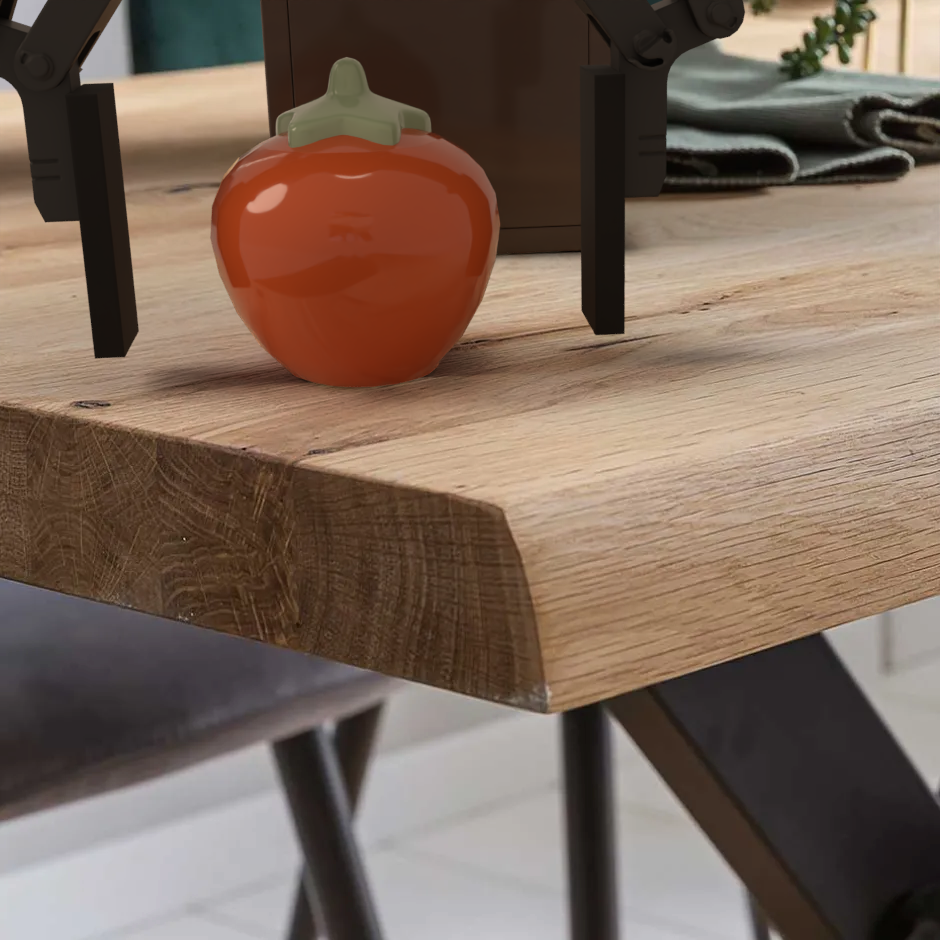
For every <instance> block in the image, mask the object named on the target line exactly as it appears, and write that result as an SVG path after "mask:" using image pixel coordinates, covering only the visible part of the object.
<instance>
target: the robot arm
mask: <svg viewBox="0 0 940 940" xmlns="http://www.w3.org/2000/svg"><path fill="white" fill-rule="evenodd" d="M122 1H123V0H46V2H45V3H44V5H43V6H42V9H41V10H40V11H39V13H38V15H37V16H36V19H35V20H34V22H33V23H32V25H27V24H25V23H21V22H18V21H15V20H13V17H14V14H15V11H16V7H17V4H18V0H0V78H1V79H3V80H5V82H7V83H9V85H11V86H12V87H13V88H14V89H15V91H16V92H17V94H18V96H19V98H20V101H21V106H22V112H23V113H22V114H23V121H24V128H25V136H26V143H27V144H26V145H27V153H28V160H29V171H30V177H31V186H32V193H33V194H32V195H33V201H34V204H35V207H36V208H37V210H38V212H39V214H40V216H41V217H42V220H43V221H44V223H63V222H65V223H66V222H79V223H78V224H79V231H80V239H81V249H82V257H83V266H84V275H85V283H86V292H87V293H86V294H87V301H88V302H87V303H88V310H89V320H90V328H91V337H92V345H93V346H92V347H93V354H94V355H93V356H94V359H116V358H118V359H119V358H126V357H127V354H128V352H129V351H130V349H131V347H132V345H133V343H134V341H135V340H136V337H137V335H138V333H140V328H139V318H138V317H139V316H138V310H137V309H138V308H137V300H136V290H135V281H134V280H135V279H134V269H133V261H132V259H133V258H132V251H131V241H130V229H129V222H128V212H127V202H126V191H125V182H124V181H125V180H124V172H123V163H122V154H121V143H120V134H119V132H120V131H119V123H118V114H117V107H116V106H117V104H116V95H115V86H114V82H96V83H95V82H94V83H82V82H81V74H80V73H81V72H82V71H83V70H84V69H83V68H82V66H83V65H84V63H85V61H86V60H87V58H88V57H89V55H90V54H91V52H92V50H93V48H94V47H95V45H96V44H97V42H98V40H99V39H100V38H101V36H102V34H103V32H104V30H105V29H106V27H107V26H108V24H109V23H110V21H111V19H112V18H113V16H114V15H115V13H116V11H117V9H118V8H119V7H120V5H121V3H122ZM574 1H575V3H576V4H577V5H578V7H579V8H580V9H581V11H582V12H583V13H584V15H585V16H586V18H587V19H588V20H589V22H590V23H591V24H592V26H593V27H594V28H595V30H596V31H597V32H598V34H599V35H600V36H601V38H602V39H603V40H604V42H605V43H606V44H607V46H608V47H609V48H610V50H611V66H610V65H609V64H605V65H580V175H581V251H580V277H581V279H580V292H581V293H580V294H581V295H580V296H581V297H580V303H581V304H580V305H581V307H580V308H581V310H580V311H581V313H582V314H583V316H584V318H585V320H586V321H587V323H588V325H589V326H590V328H591V331H592V332H593V334H594V335H595V336H610V335H612V336H613V335H614V336H615V335H625V332H626V331H625V328H626V319H625V318H626V317H625V316H626V315H625V314H626V313H625V311H626V309H625V308H626V307H625V306H626V305H625V304H626V199H631V198H632V199H633V198H657V197H659V195H660V193H661V190H662V189H663V185H664V183H665V181H666V178H667V143H668V142H667V139H668V138H667V133H668V130H667V129H668V79H669V73H670V72H671V68H672V66H673V65H674V63H676V60H678V59H679V58H680V57H681V56H682V55H683V54H685V53H687V52H688V51H691V50H693V49H695V48H697V47H700V46H703V45H705V44H707V43H709V42H710V43H711V42H713V41H715V40H717V39H719V40H721V39H726V38H730V37H731V36H733V35H734V34H735V33H737V32H738V31H739V29H740V28H741V26H742V25H743V23H744V20H745V14H746V10H745V4H744V1H743V0H660V1H657V2H655V3H653V4H650V3H649V1H648V0H574ZM81 83H82V84H81Z"/></svg>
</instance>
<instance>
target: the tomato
mask: <svg viewBox="0 0 940 940" xmlns="http://www.w3.org/2000/svg"><path fill="white" fill-rule="evenodd" d="M499 230H500V219H499V212H498V206H497V200H496V194H495V191H494V189H493V188H492V186H491V184H490V182H489V180H488V178H487V176H486V174H485V172H484V170H483V168H482V167H481V166H480V164H479V163H478V162H477V161H476V160H475V159H474V158H473V157H472V156H471V155H470V154H469V153H468V152H467V151H466V150H465V149H464V148H463V147H461V146H460V145H458V144H456V143H454V142H452V141H450V140H448V139H446V138H444V137H442V136H440V135H439V134H436V133H433V132H432V130H431V120H430V116H429V114H428V113H427V112H426V111H424V110H422V109H419V108H417V107H414V106H411V105H408V104H405V103H401V102H398V101H395V100H392V99H389V98H386V97H383V96H380V95H377V94H375V93H373V92H372V91H371V90H370V89H369V86H368V82H367V78H366V74H365V71H364V69H363V66H362V65H361V63H360V62H359V61H357V60H356V59H352V58H348V57H345V58H342V59H339V60H338V61H336V62H335V63H334V64H333V66H332V68H331V72H330V77H329V83H328V90H327V92H326V93H325V94H324V95H323V96H321V97H319V98H316V99H314V100H312V101H310V102H307V103H305V104H302V105H300V106H298V107H295V108H293V109H291V110H288V111H286V112H284V113H282V114H281V115H279V116H278V118H277V120H276V136H274V137H272V138H270V137H269V138H267V139H265V140H263V141H260V142H259V143H258V144H256V145H255V146H253V147H252V148H250V149H249V150H247V151H245V152H244V153H242V154H241V155H240V156H238V157H237V159H236V160H234V163H232V164H231V166H230V167H229V168H228V169H227V171H226V172H225V173H224V174H223V176H222V178H221V181H220V184H219V186H218V189H217V191H216V194H215V196H214V199H213V202H212V205H211V217H210V234H209V235H210V236H209V238H210V243H211V246H212V251H213V253H214V254H213V255H214V259H215V264H216V267H217V271H218V276H219V278H220V280H221V283H222V284H223V286H224V288H225V291H226V293H227V295H228V297H229V299H230V302H231V303H232V306H233V307H234V310H235V312H236V314H237V315H238V316H239V318H240V319H241V321H242V322H243V323H244V325H245V327H246V328H247V329H248V331H249V333H250V334H251V336H253V338H254V339H255V340H256V342H257V343H258V345H259V346H260V347H261V349H263V350H264V352H266V353H267V354H269V355H270V356H271V357H272V358H273V359H274V360H275V361H277V362H278V364H280V365H281V366H282V367H284V369H286V370H287V371H288V372H289V373H290V374H291V375H293V376H294V377H296V378H299V379H301V380H305V381H307V382H309V383H313V384H315V385H316V384H317V385H321V386H327V387H335V388H336V387H337V388H374V387H375V388H376V387H377V388H378V387H384V386H394V385H400V384H404V383H408V382H412V381H416V380H419V379H421V378H423V377H426V376H428V375H430V374H431V373H432V372H434V371H435V370H436V369H437V368H438V367H439V365H440V362H441V361H442V360H443V359H444V357H445V356H446V355H448V353H449V352H450V351H451V350H452V349H453V348H454V347H455V346H456V344H457V343H458V342H459V341H460V340H461V338H462V337H463V336H464V334H465V332H466V331H467V329H468V328H469V325H470V323H471V322H472V320H473V318H474V316H475V314H476V313H477V310H478V309H479V307H480V306H481V303H482V302H483V299H484V296H485V293H486V291H487V287H488V285H489V281H490V279H491V275H492V273H493V270H494V267H495V264H496V260H497V254H496V253H497V246H498V238H499Z"/></svg>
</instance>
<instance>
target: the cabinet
mask: <svg viewBox="0 0 940 940" xmlns="http://www.w3.org/2000/svg"><path fill="white" fill-rule="evenodd" d="M259 6H260V21H261V34H262V47H263V61H264V63H263V64H264V74H265V75H264V76H265V88H266V89H265V90H266V104H267V118H268V132H269V133H268V134H269V139H270V138H272V137H274V136H276V120H277V118H278V116H279V115H281V114H282V113H284V112H286V111H288V110H291V109H293V108H295V107H298V106H300V105H302V104H305V103H307V102H310V101H312V100H314V99H316V98H319V97H321V96H323V95H324V94H325V93H326V92H327V90H328V83H329V77H330V72H331V68H332V66H333V64H334V63H335V62H336V61H338V60H339V59H342V58H345V57H348V58H352V59H356V60H357V61H359V62H360V63H361V65H362V66H363V69H364V71H365V74H366V78H367V82H368V86H369V89H370V90H371V91H372V92H373V93H375V94H377V95H380V96H383V97H386V98H389V99H392V100H395V101H398V102H401V103H405V104H408V105H411V106H414V107H417V108H419V109H422V110H424V111H426V112H427V113H428V114H429V116H430V120H431V130H432V132H433V133H436V134H439V135H440V136H442V137H444V138H446V139H448V140H450V141H452V142H454V143H456V144H458V145H460V146H461V147H463V148H464V149H465V150H466V151H467V152H468V153H469V154H470V155H471V156H472V157H473V158H474V159H475V160H476V161H477V162H478V163H479V164H480V166H481V167H482V168H483V170H484V172H485V174H486V176H487V178H488V180H489V182H490V184H491V186H492V188H493V189H494V191H495V194H496V200H497V206H498V212H499V219H500V230H499V238H498V246H497V253H496V255H509V254H510V255H511V254H531V253H554V252H557V253H558V252H575V251H576V252H577V251H580V252H581V175H580V65H605V64H609V65H610V66H611V50H610V48H609V47H608V46H607V44H606V43H605V42H604V40H603V39H602V38H601V36H600V35H599V34H598V32H597V31H596V30H595V28H594V27H593V26H592V24H591V23H590V22H589V20H588V19H587V18H586V16H585V15H584V13H583V12H582V11H581V9H580V8H579V7H578V5H577V4H576V3H575V1H574V0H259Z"/></svg>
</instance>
